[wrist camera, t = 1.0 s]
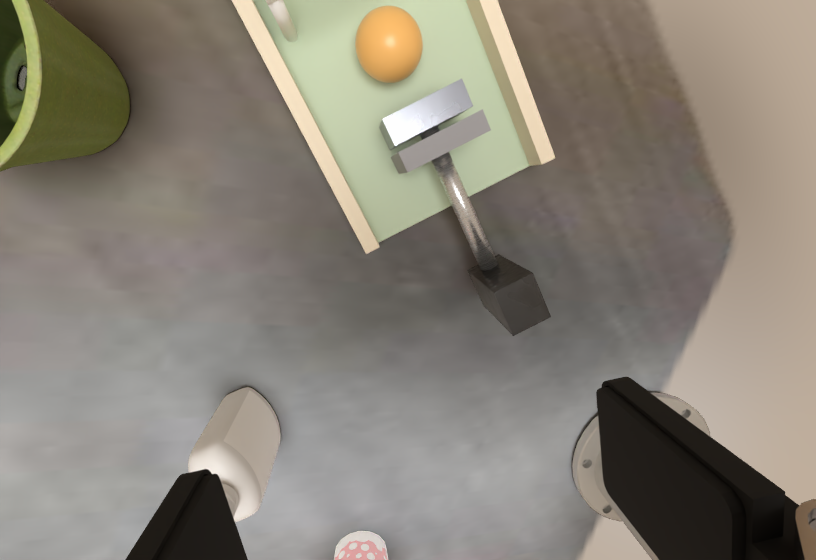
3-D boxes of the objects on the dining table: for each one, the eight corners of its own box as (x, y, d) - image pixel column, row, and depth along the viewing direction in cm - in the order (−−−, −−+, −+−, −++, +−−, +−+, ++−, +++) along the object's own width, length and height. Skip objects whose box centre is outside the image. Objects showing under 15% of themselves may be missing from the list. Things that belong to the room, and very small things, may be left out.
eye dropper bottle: (284, 386, 32) (242, 503, 21) (280, 449, 33) (239, 593, 22) (225, 383, 32) (147, 502, 20) (224, 448, 33) (150, 595, 21)
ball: (428, 72, 27) (439, 54, 23) (373, 100, 27) (375, 86, 23) (400, 9, 26) (408, -21, 22) (344, 38, 26) (341, 13, 22)
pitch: (536, 159, 30) (595, 153, 23) (365, 246, 30) (367, 269, 23) (418, -151, 25) (443, -293, 17) (211, -45, 25) (148, -141, 18)
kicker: (526, 280, 31) (569, 307, 24) (466, 311, 31) (494, 345, 25) (447, 92, 27) (473, 66, 21) (378, 127, 27) (385, 112, 21)
